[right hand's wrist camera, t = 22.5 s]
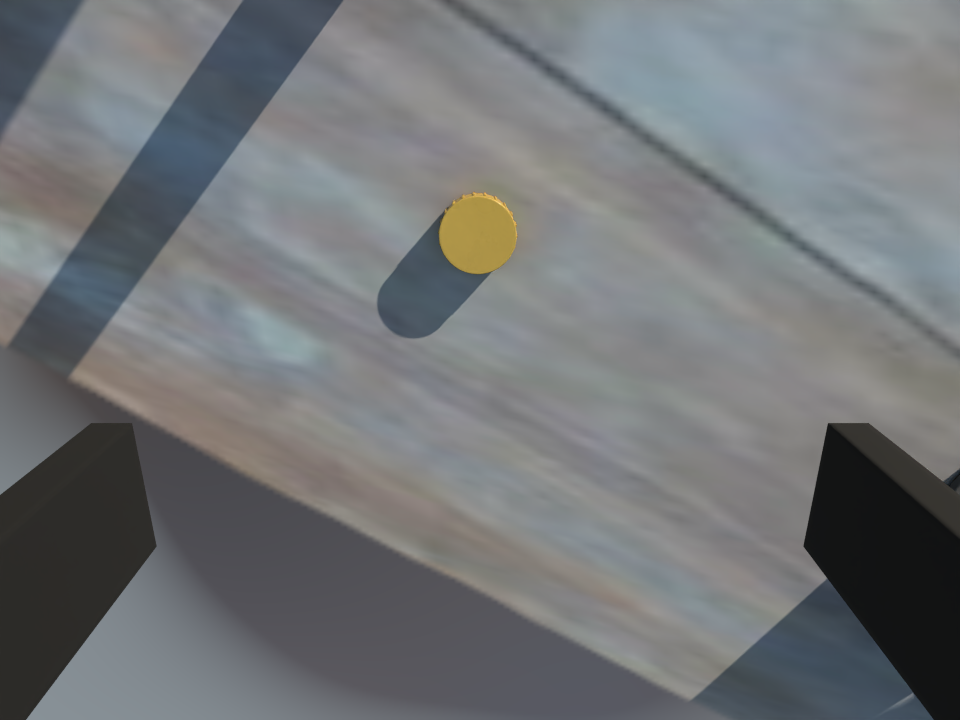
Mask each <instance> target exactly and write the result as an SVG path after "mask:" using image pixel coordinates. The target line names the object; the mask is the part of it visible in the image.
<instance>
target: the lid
mask: <svg viewBox="0 0 960 720" xmlns="http://www.w3.org/2000/svg"><path fill="white" fill-rule="evenodd" d="M512 216H513V214H512V212H511V211H509V210H508V208H507V207H506V204H505V203H502V202H501V201H500V200H498V199H497V197H496V196H495V197H493V196H490V195H487V194H486V193H484V194H482V193H475V192H473V194H469V195H465V196H464V195H462V197H461V198H459V199H457V200H456V201H455V200H454V201H453V202H452V204H451V205H450V206H449V208H448V209H447V208H446V209H445V214H444V216H443V218H441V220H440V223H441V225H440V229H439V231H438V234H439V245H440V246H441V249H442V251H443V254H444V255H445V257H446V258H447V260H448V261H449V262H450V263H451V264H452V265H453V266H455V267H456V268H458V269H459V270H461V271H464V272H467V273H471V274H485V273H489V272H492V271H494V270H496V269H498V268H499V267H501V266H502V265H503V264H504V263H505V262H506V261H507V260H508V259H509V258H510V256H511V254H512V252H513V250H514V248H515V244H516V238H517V233H516V226H517V225H516V222H514V220H513V217H512Z"/></svg>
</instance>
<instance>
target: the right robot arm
mask: <svg viewBox="0 0 960 720" xmlns="http://www.w3.org/2000/svg"><path fill="white" fill-rule="evenodd" d="M155 548H156V541H155V536H154V531H153V526H152V521H151V516H150V511H149V506H148V501H147V496H146V491H145V486H144V481H143V476H142V471H141V466H140V461H139V456H138V451H137V446H136V441H135V436H134V431H133V426H132V423H91V424H90V425H89V426H87V427H86V428H85V429H83V430H82V431H81V432H80V433H78V434H77V435H76V436H75V437H73V438H72V439H71V440H69V441H68V442H67V443H66V444H64V445H63V446H62V447H61V448H59V449H58V450H57V451H55V452H54V453H53V454H52V455H50V456H49V457H48V458H47V459H45V460H44V461H43V462H42V463H40V464H39V465H38V466H36V467H35V468H34V469H33V470H31V471H30V472H29V473H28V474H26V475H25V476H24V477H23V478H21V479H20V480H19V481H17V482H16V483H15V484H14V485H12V486H11V487H10V488H9V489H7V490H6V491H5V492H3V493H2V494H1V495H0V720H26V719H27V718H28V716H29V715H30V714H31V712H32V711H33V710H34V708H35V707H36V706H37V704H38V703H39V702H40V700H41V699H42V698H43V696H44V695H45V694H46V692H47V691H48V690H49V688H50V687H51V686H52V684H53V683H54V682H55V680H56V679H57V678H58V676H59V675H60V674H61V672H62V671H63V670H64V669H65V667H66V666H67V665H68V663H69V662H70V661H71V659H72V658H73V657H74V655H75V654H76V653H77V651H78V650H79V649H80V647H81V646H82V645H83V643H84V642H85V641H86V639H87V638H88V637H89V635H90V634H91V633H92V631H93V630H94V629H95V627H96V626H97V625H98V623H99V622H100V621H101V619H102V618H103V617H104V615H105V614H106V613H107V611H108V610H109V609H110V607H111V606H112V605H113V603H114V602H115V601H116V600H117V598H118V597H119V595H120V594H121V593H122V592H123V590H124V589H125V588H126V586H127V585H128V584H129V582H130V581H131V580H132V578H133V577H134V576H135V574H136V573H137V572H138V570H139V569H140V568H141V566H142V565H143V564H144V562H145V561H146V560H147V558H148V557H149V556H150V554H151V553H152V552H153V550H154V549H155ZM804 548H805V549H806V550H807V552H808V553H809V554H810V556H811V557H812V558H813V560H814V561H815V562H816V564H817V565H818V566H819V568H820V569H821V570H822V572H823V573H824V574H825V576H826V577H827V578H828V580H829V581H830V582H831V584H832V585H833V586H834V588H835V589H836V590H837V592H838V593H839V594H840V596H841V597H842V598H843V600H844V601H845V602H846V603H847V605H848V606H849V607H850V609H851V610H852V611H853V613H854V614H855V615H856V617H857V618H858V619H859V621H860V622H861V623H862V625H863V626H864V627H865V629H866V630H867V631H868V633H869V634H870V635H871V637H872V638H873V639H874V641H875V642H876V643H877V645H878V646H879V647H880V649H881V650H882V651H883V653H884V654H885V655H886V657H887V658H888V659H889V661H890V662H891V663H892V665H893V666H894V667H895V669H896V670H897V671H898V673H899V674H900V675H901V677H902V678H903V679H904V680H905V682H906V683H907V684H908V686H909V687H910V688H911V690H912V691H913V692H914V694H915V695H916V696H917V698H918V699H919V700H920V702H921V703H922V704H923V706H924V707H925V708H926V710H927V711H928V712H929V714H930V715H931V716H932V718H933V719H934V720H960V475H959V476H958V477H957V478H956V479H955V480H954V481H953V482H952V484H951V485H950V486H948V485H946V484H945V483H944V482H943V481H941V480H940V479H939V478H938V477H936V476H935V475H934V474H932V473H931V472H930V471H929V470H927V469H926V468H925V467H924V466H922V465H921V464H920V463H918V462H917V461H916V460H915V459H913V458H912V457H911V456H910V455H908V454H907V453H906V452H905V451H903V450H902V449H901V448H899V447H898V446H897V445H896V444H894V443H893V442H892V441H891V440H889V439H888V438H887V437H885V436H884V435H883V434H882V433H880V432H879V431H878V430H877V429H875V428H874V427H873V426H872V425H870V424H869V423H828V426H827V431H826V436H825V441H824V446H823V451H822V456H821V461H820V466H819V471H818V476H817V481H816V486H815V491H814V496H813V501H812V506H811V511H810V516H809V521H808V526H807V531H806V536H805V541H804Z"/></svg>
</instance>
